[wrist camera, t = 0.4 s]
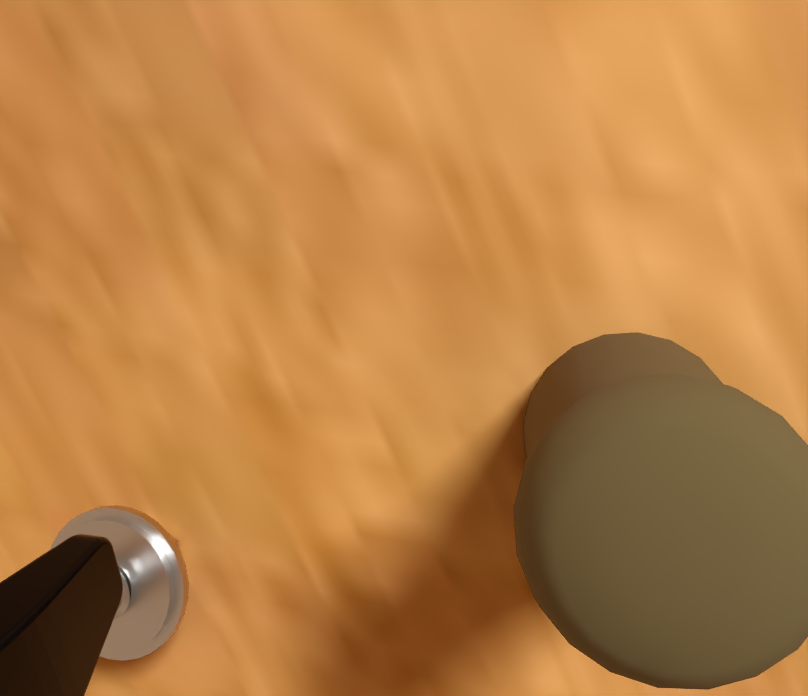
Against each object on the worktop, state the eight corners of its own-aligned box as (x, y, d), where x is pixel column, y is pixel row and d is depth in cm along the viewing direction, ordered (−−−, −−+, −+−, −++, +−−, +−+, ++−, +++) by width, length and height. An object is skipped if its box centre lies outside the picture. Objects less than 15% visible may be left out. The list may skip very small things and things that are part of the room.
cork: (725, 552, 21) (882, 797, 11) (513, 522, 23) (463, 714, 12) (749, 342, 21) (937, 377, 10) (532, 323, 22) (496, 337, 12)
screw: (242, 582, 25) (140, 658, 26) (158, 463, 25) (61, 543, 26) (-102, 869, 12) (-278, 999, 13) (-258, 621, 12) (-418, 764, 13)
